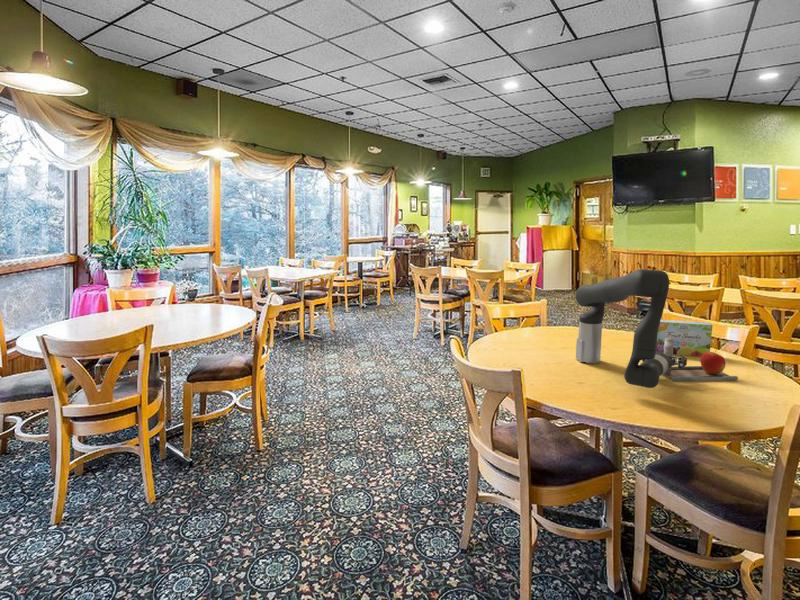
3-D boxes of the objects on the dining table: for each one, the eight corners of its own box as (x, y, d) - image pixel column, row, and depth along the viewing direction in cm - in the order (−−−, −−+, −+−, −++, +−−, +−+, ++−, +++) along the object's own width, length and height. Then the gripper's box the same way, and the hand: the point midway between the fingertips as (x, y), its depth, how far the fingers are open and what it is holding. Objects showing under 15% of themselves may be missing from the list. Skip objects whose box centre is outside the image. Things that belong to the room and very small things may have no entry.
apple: (696, 369, 187) (698, 345, 186) (719, 371, 185) (721, 346, 184) (703, 376, 180) (705, 350, 178) (727, 377, 178) (730, 352, 176)
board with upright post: (669, 379, 178) (672, 342, 176) (655, 371, 188) (658, 336, 185) (733, 379, 178) (737, 341, 175) (716, 370, 187) (719, 335, 185)
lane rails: (673, 381, 176) (673, 377, 176) (654, 370, 190) (654, 366, 189) (737, 380, 176) (738, 376, 176) (714, 369, 189) (714, 366, 189)
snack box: (655, 353, 214) (657, 321, 211) (653, 350, 219) (656, 318, 216) (709, 357, 206) (712, 324, 203) (706, 354, 211) (709, 321, 208)
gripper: (679, 358, 165) (691, 349, 176) (636, 351, 175) (650, 343, 186) (677, 379, 166) (689, 368, 178) (635, 370, 176) (648, 361, 187)
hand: (669, 355), depth 182 cm, fingers open, 8 cm apart
